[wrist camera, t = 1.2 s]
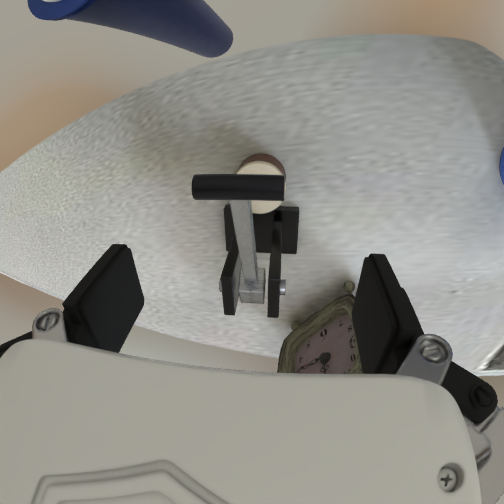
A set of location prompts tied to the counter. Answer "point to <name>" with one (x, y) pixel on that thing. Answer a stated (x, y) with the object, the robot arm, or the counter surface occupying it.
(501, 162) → the blue bottle
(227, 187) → the lever
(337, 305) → the tabletop clock
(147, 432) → the robot arm
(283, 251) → the black upright frame
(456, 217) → the counter surface
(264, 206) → the cake
